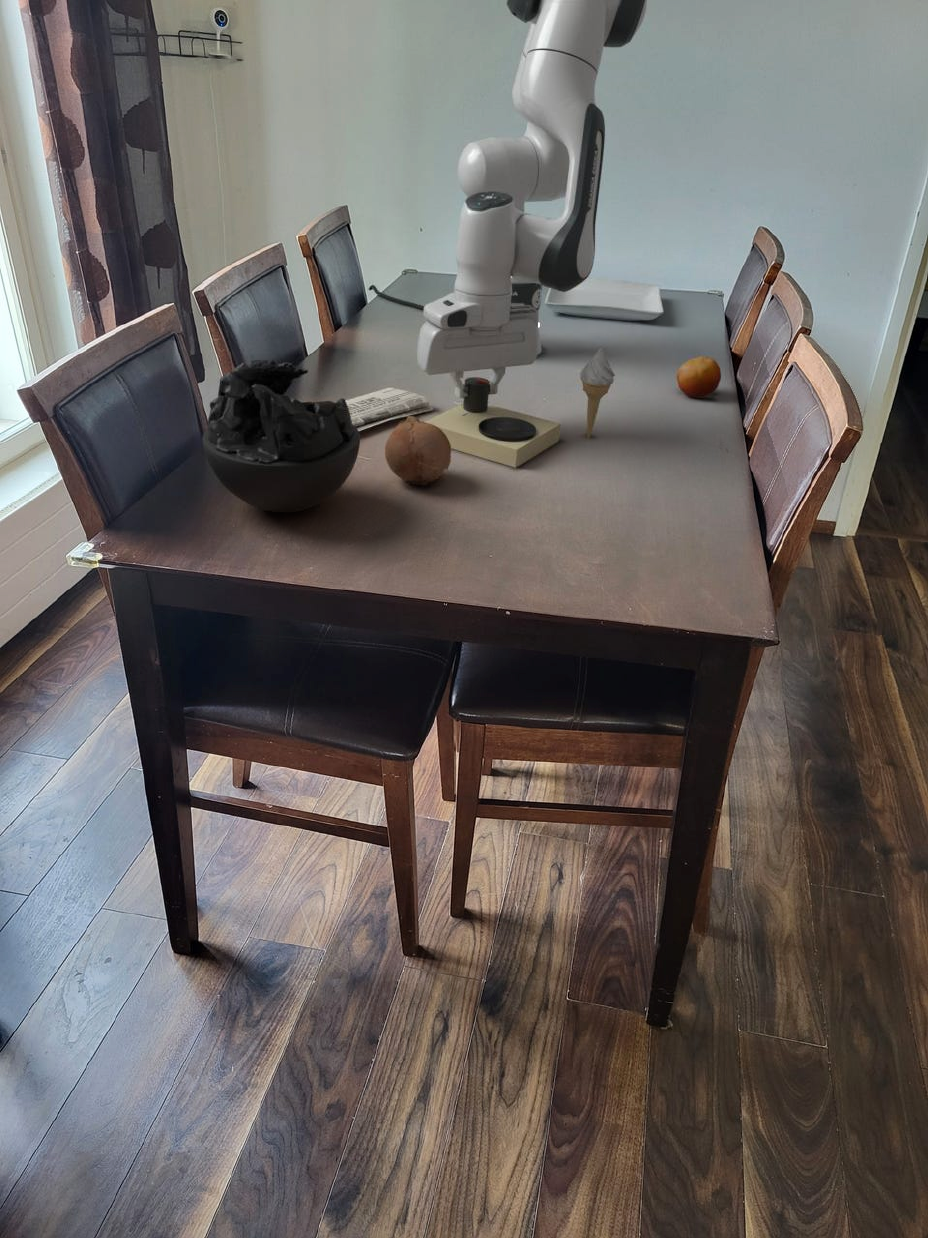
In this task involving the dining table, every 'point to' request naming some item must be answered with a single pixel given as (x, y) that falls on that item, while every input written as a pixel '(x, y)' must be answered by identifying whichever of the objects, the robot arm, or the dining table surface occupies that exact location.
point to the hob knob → (476, 395)
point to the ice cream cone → (596, 384)
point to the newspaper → (384, 407)
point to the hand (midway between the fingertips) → (475, 395)
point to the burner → (507, 429)
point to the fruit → (699, 377)
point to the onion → (418, 451)
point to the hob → (469, 439)
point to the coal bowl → (277, 439)
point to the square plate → (608, 300)
